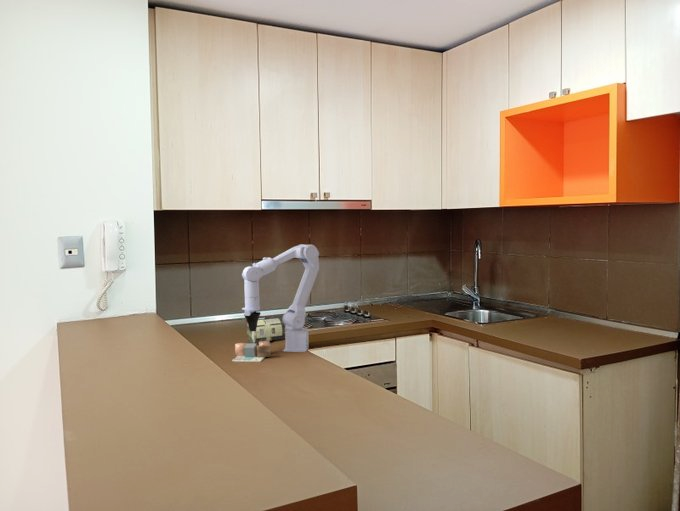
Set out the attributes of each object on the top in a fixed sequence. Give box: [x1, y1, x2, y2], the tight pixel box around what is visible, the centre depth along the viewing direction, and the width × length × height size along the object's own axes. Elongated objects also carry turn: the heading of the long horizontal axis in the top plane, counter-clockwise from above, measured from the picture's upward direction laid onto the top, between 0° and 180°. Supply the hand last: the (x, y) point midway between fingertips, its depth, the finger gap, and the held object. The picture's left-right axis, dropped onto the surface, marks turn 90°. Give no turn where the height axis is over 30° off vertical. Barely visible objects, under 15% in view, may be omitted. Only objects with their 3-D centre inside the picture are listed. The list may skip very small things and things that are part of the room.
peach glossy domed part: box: [234, 342, 247, 357], centre depth 213 cm, size 4×4×4 cm
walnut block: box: [256, 344, 272, 358], centre depth 211 cm, size 5×3×4 cm, turn 113°
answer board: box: [231, 356, 266, 363], centre depth 212 cm, size 11×14×1 cm
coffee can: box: [246, 317, 285, 344], centre depth 239 cm, size 10×10×14 cm
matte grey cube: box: [244, 342, 258, 357], centre depth 211 cm, size 4×4×4 cm
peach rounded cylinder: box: [258, 341, 271, 346], centre depth 216 cm, size 4×4×4 cm
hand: (252, 331), depth 214 cm, fingers closed
